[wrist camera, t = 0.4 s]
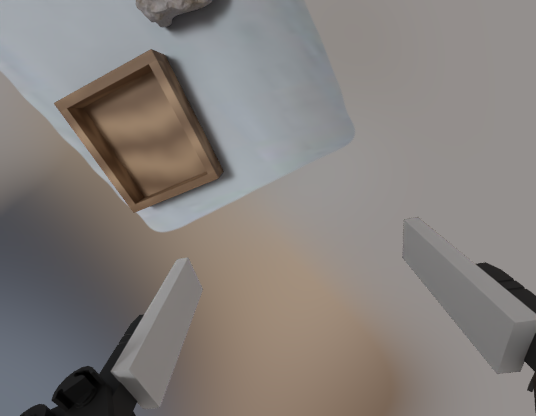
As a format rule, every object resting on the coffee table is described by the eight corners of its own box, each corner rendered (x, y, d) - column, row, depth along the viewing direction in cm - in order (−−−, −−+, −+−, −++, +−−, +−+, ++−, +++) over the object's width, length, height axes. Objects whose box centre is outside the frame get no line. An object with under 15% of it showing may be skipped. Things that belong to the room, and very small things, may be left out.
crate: (76, 102, 35) (53, 103, 31) (165, 55, 32) (151, 49, 28) (145, 203, 42) (133, 212, 38) (223, 171, 39) (218, 178, 35)
